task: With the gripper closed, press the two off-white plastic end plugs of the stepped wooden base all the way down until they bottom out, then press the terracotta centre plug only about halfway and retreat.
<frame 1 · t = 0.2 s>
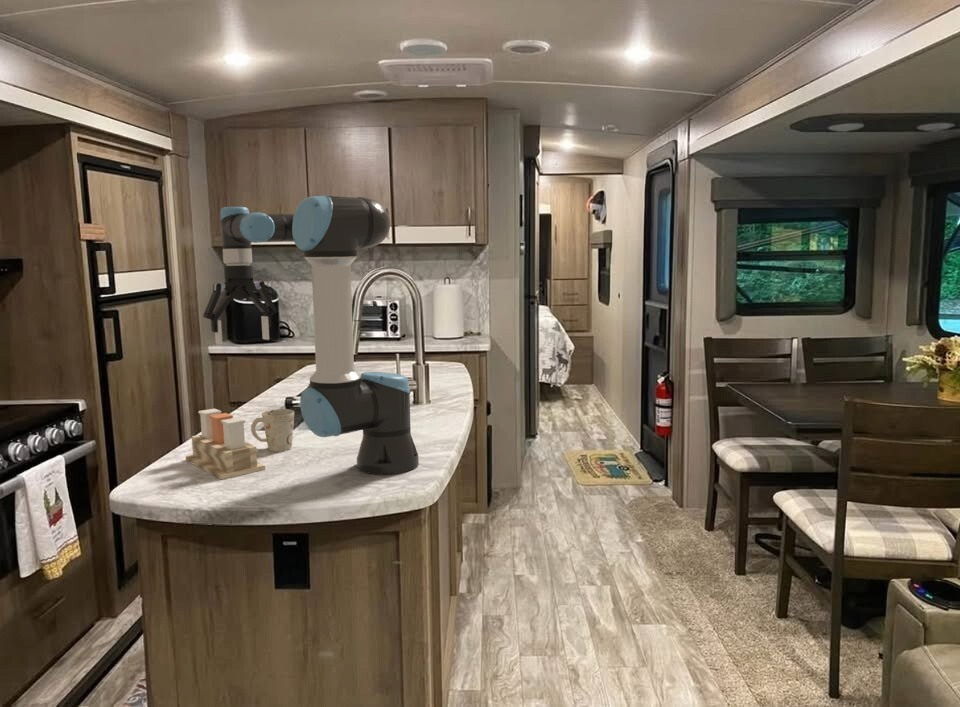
hand: (243, 341, 206), 28 cm above the countertop, fingers open, 13 cm apart
plug far: (210, 425, 190), point 9 cm above the countertop, slide at 0.0 cm
plug near: (234, 435, 180), point 9 cm above the countertop, slide at 0.0 cm
mug: (272, 449, 200), on the countertop
stepped wooden base: (224, 464, 186), on the countertop
plug centre: (222, 430, 185), point 9 cm above the countertop, slide at 0.0 cm
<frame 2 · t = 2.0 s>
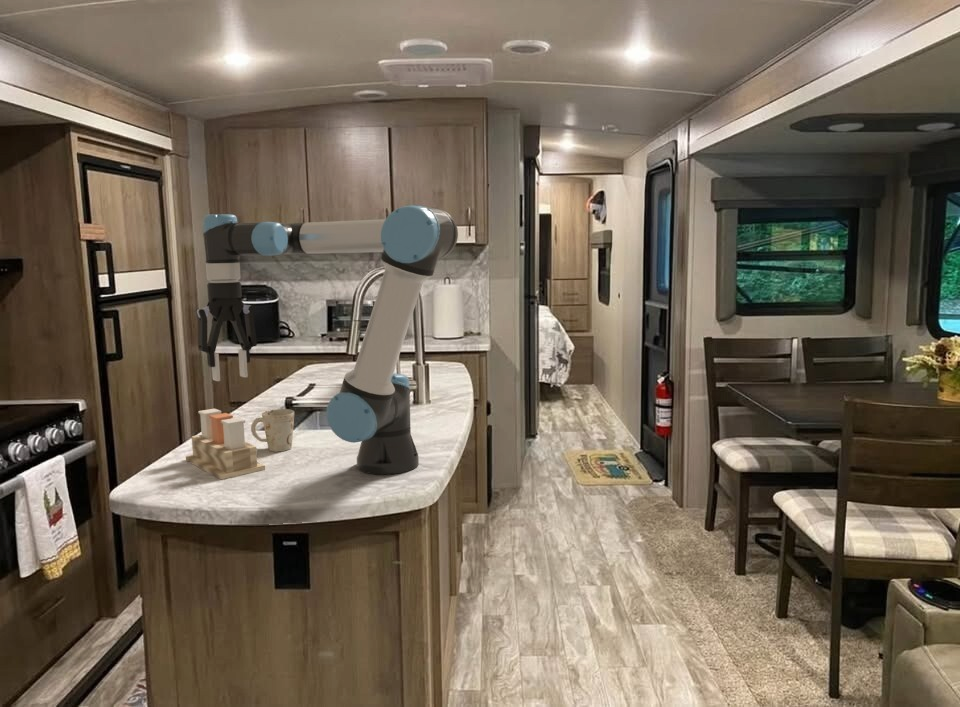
hand: (230, 378, 178), 23 cm above the countertop, fingers open, 6 cm apart
nothing on the countertop moved.
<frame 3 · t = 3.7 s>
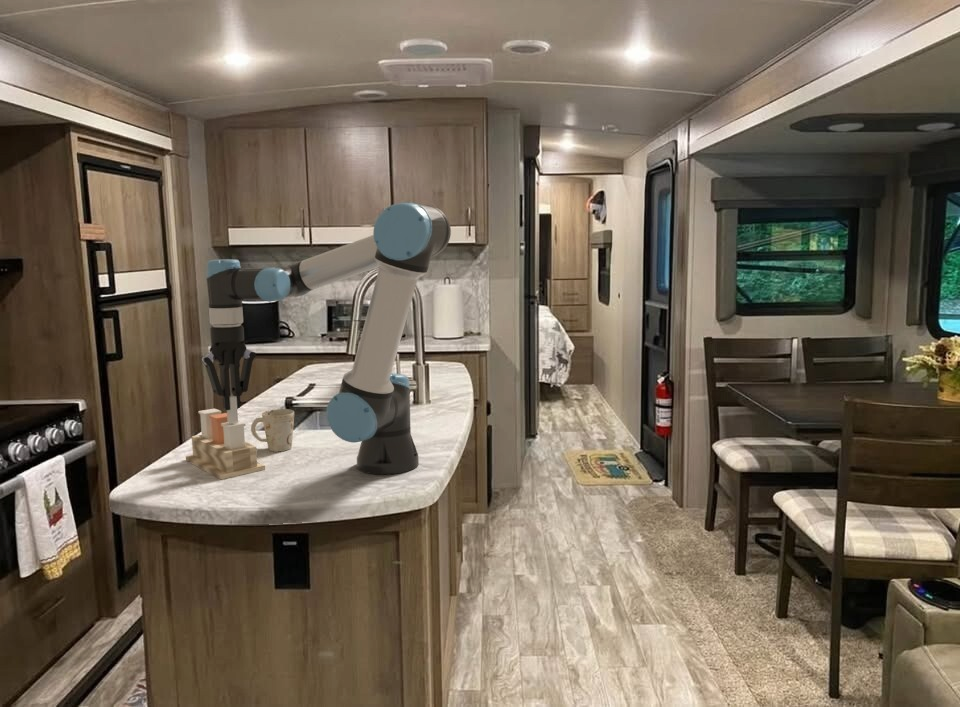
hand: (232, 422, 179), 12 cm above the countertop, fingers closed
plug near: (234, 438, 180), point 8 cm above the countertop, slide at 0.8 cm, touching gripper
everything else where it was.
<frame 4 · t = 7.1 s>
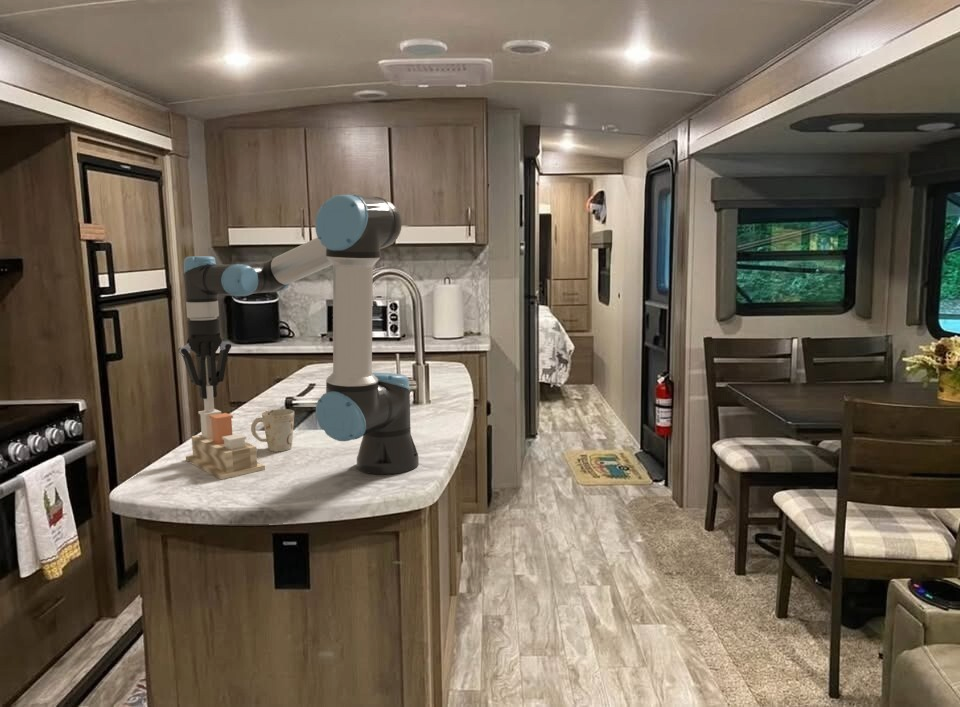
hand: (209, 410, 189), 13 cm above the countertop, fingers closed
plug far: (210, 425, 190), point 9 cm above the countertop, slide at 0.1 cm, touching gripper
plug near: (235, 451, 180), point 5 cm above the countertop, slide at 4.1 cm
everything else where it was.
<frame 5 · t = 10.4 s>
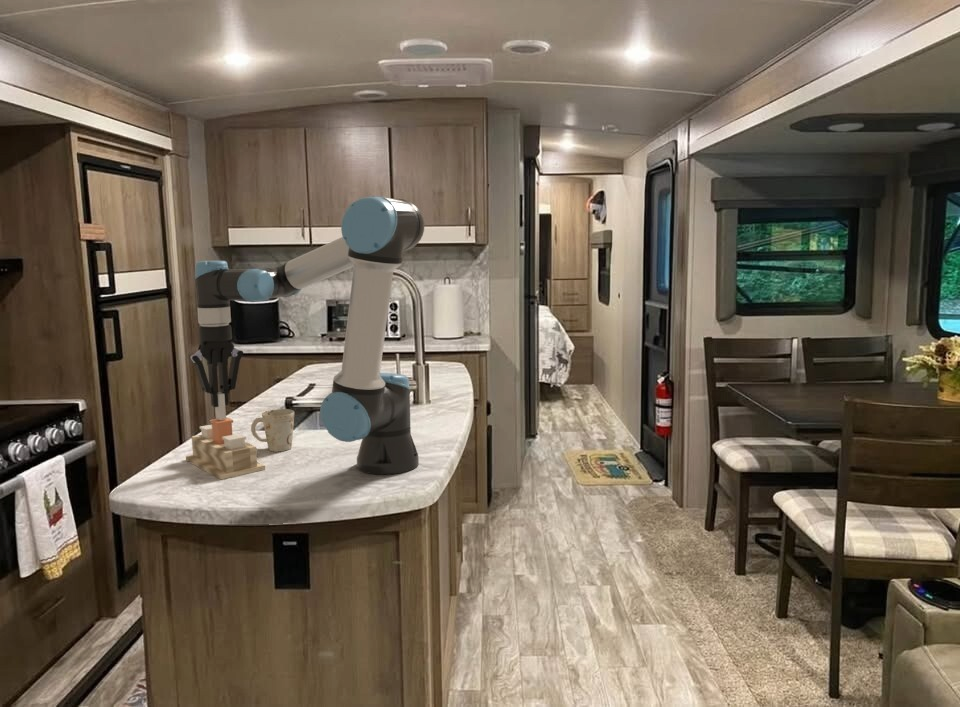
hand: (220, 418, 184), 12 cm above the countertop, fingers closed
plug far: (211, 440, 191), point 5 cm above the countertop, slide at 4.1 cm
plug centre: (222, 434, 185), point 8 cm above the countertop, slide at 1.1 cm, touching gripper
everything else where it was.
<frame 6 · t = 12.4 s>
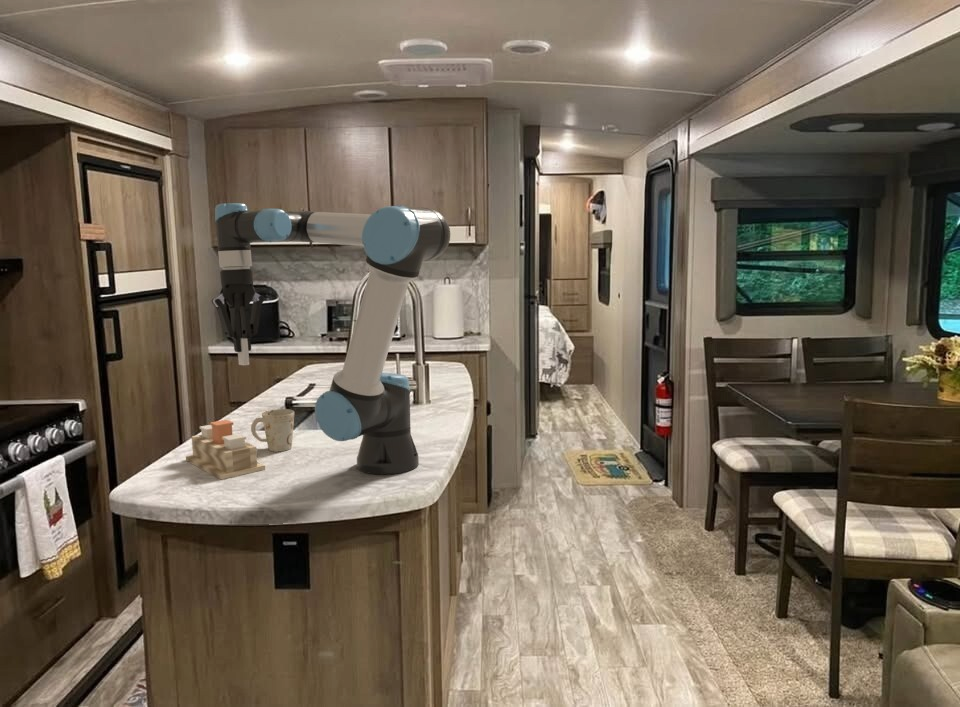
hand: (244, 364, 183), 25 cm above the countertop, fingers closed
plug centre: (222, 436, 185), point 7 cm above the countertop, slide at 1.8 cm
everything else where it was.
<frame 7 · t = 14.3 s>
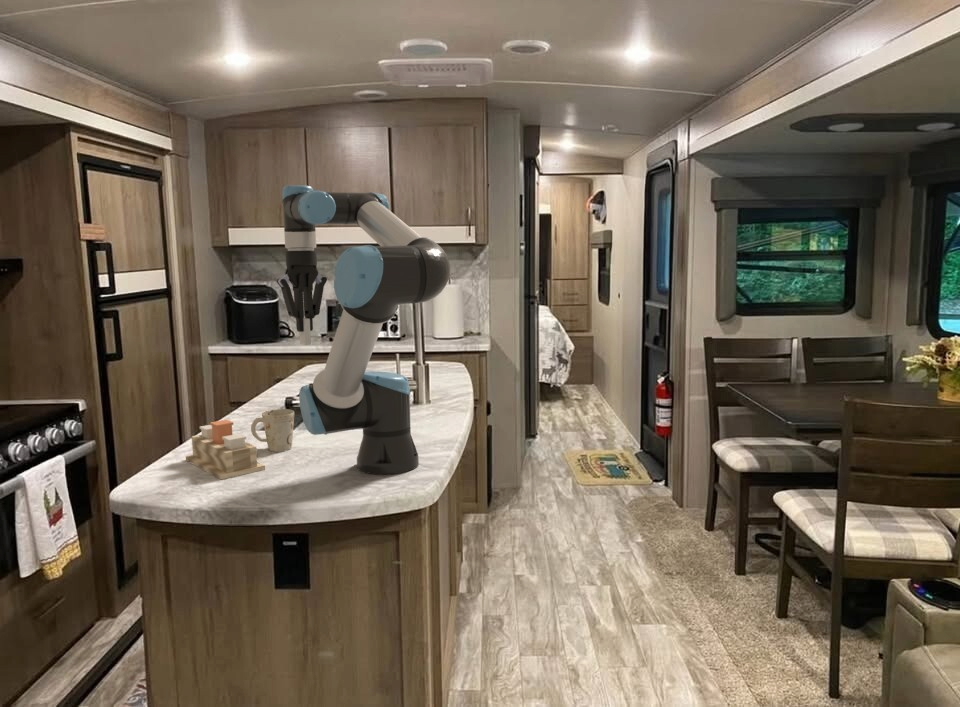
hand: (305, 344, 187), 29 cm above the countertop, fingers closed
nothing on the countertop moved.
at the end: plug near slide at 4.1 cm; plug far slide at 4.1 cm; plug centre slide at 1.8 cm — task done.
